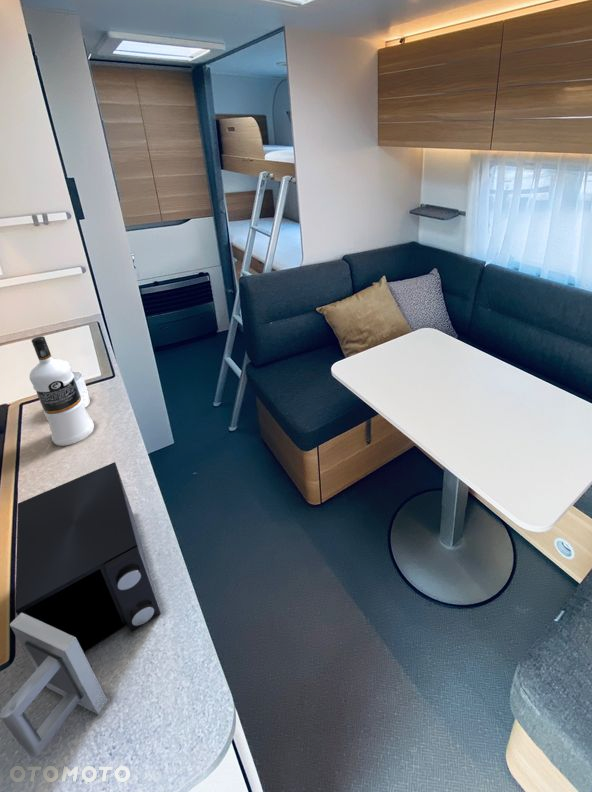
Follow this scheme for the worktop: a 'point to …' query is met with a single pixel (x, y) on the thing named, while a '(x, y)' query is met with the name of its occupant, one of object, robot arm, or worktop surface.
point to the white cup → (81, 387)
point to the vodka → (59, 397)
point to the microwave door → (50, 682)
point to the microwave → (83, 560)
